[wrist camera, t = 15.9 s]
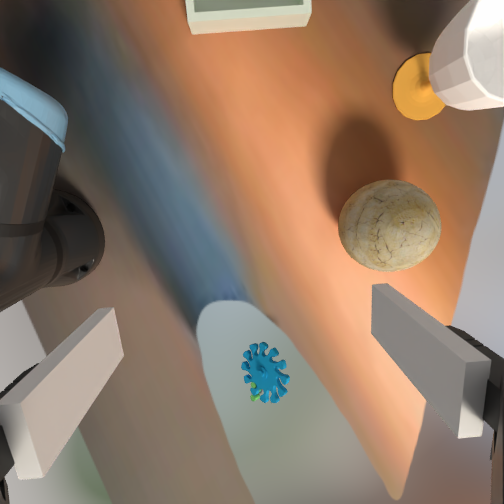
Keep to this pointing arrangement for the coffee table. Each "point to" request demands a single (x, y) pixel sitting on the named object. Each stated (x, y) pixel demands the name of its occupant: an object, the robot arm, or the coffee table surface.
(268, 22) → the sage tray
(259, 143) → the coffee table surface
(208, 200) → the coffee table surface
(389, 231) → the fossilized egg
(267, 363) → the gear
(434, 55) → the cup
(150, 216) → the coffee table surface
